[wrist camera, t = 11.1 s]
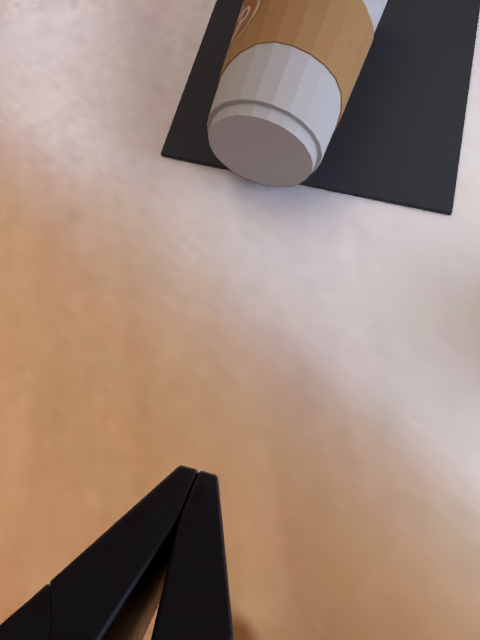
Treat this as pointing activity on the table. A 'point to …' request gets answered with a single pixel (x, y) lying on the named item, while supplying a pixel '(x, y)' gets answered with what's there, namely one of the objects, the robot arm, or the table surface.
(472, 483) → the table surface
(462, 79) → the mat
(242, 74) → the coffee cup
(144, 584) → the robot arm
